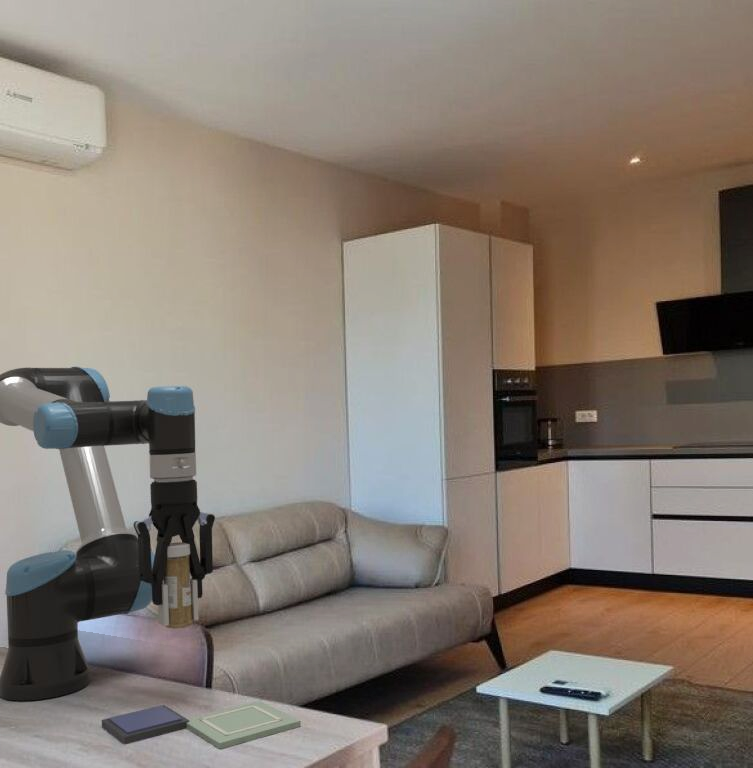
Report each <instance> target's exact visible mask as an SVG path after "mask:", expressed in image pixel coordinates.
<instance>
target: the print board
mask: <svg viewBox="0 0 753 768" xmlns="http://www.w3.org/2000/svg"><path fill="white" fill-rule="evenodd" d="M187 719H188V720H189V722H187V723H186V726H187V728H186V729H188V730H189V731H191V732H192V733H194V734H195V735H197V736H199V737H200V738H202V739H203V740H205V741H206V742H207V743H209V744H211V745H213V746H214V747H216V748H217V749H219V750H222V749H224V748H225V749H226V748H229V747H233V746H236V745H239V744H242V743H246V742H247V743H248V742H250V741H253V740H257V739H261V738H264V737H268V736H271V735H275V734H277V733H281V732H285V731H289V730H293V729H296V728H298V727H299V728H301V725H302V724H301V720H300V719H298V718H295V717H294V716H292V715H290V714H287V713H286V712H285V711H284V712H283V711H282V710H280V709H277V708H275V707H274V706H271V705H269V704H267V703H265V702H263V701H262V700H256V701H252V702H248V703H244V704H240V705H235V706H232V707H228V708H225V709H221V710H220V709H219V710H216V711H213V712H210V713H209V712H208V713H204V714H202V715H198V716H193V717H189V718H187Z"/></svg>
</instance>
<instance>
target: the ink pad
mask: <svg viewBox="0 0 753 768" xmlns="http://www.w3.org/2000/svg"><path fill="white" fill-rule="evenodd" d="M188 719H189V718H186V717H185V716H183V715H182V714H180V713H178V712H177V711H175V710H173V709H171V708H170V707H169V706H167V705H165V704H161V705H156V706H152V707H149V708H144V709H141V710H140V709H139V710H136V711H131V712H128V713H123V714H118V715H115V716H110V717H109V718H104V719H101V727H102V728H103V729H104V730H105V731H107V732H108V733H110V735H112V736H113V737H115V738H116V739H117V740H119V742H121V743H122V744H123V745H127V744H131V743H134V742H138V741H143V740H145V739H150V738H153V737H154V738H155V737H157V736H161V735H164V734H169V733H173V732H177V731H180V730H181V731H182V730H185V729H187V726H186V723H187V722H189V720H188Z"/></svg>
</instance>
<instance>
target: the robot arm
mask: <svg viewBox="0 0 753 768" xmlns="http://www.w3.org/2000/svg"><path fill="white" fill-rule="evenodd" d="M147 391H148V392H147V396H146V397H147V398H146V399H145V400H144V399H141V400H114V401H113V400H112V401H110V398H111V397H110V391H109V386H108V384H107V381H106V379H105V378H104V376H103V375H102V374H101V373H100V372H99V371H98V370H96V369H94V368H91V367H80V366H72V367H18V368H14V369H9V370H7V371H5V372H3V373H1V374H0V424H3V425H6V426H11V427H17V426H18V427H19V426H20V427H22V428H25V429H27V430H29V431H31V432H33V436H34V439H35V441H36V443H37V445H38V446H39V447H41V449H47V450H48V449H51V450H52V449H55V450H58V451H59V454H60V455H59V456H60V459H61V463H62V467H63V471H64V475H65V478H66V485H67V488H68V491H69V495H70V500H71V504H72V508H73V512H74V516H75V517H74V518H75V520H76V524H77V528H78V529H77V530H78V533H79V538H80V542H81V544H80V546H79V547H78V548H77V550H76V552H74V551H73V550H70V549H69V550H66V549H65V550H64V549H63V550H56V551H49V552H44V553H39V554H36V555H31V556H29V557H26V558H23V559H20V560H18V561H16V562H14V563H13V564H12V565H10V567H9V568H8V570H7V571H6V581H5V582H6V584H5V586H6V587H5V591H4V592H5V593H4V594H5V595H6V612H7V613H6V615H7V637H8V638H7V641H8V642H7V643H8V648H7V653H6V656H5V659H4V663H3V666H2V670H1V672H0V698H2V699H5V700H7V701H8V700H9V701H25V702H26V701H38V700H46V699H51V698H57V697H60V696H65V695H68V694H71V693H74V692H77V691H79V690H81V689H84V688H85V687H87V685H89V684H90V681H91V676H90V668H89V665H88V663H87V660H86V656H85V655H84V652H83V651H84V650H83V649H82V647H81V644H80V640H79V634H78V633H79V632H78V623H80V622H84V621H91V620H96V619H97V620H98V619H103V618H107V617H113V616H114V617H115V616H119V615H128V614H130V613H133V612H137V611H141V610H143V609H145V608H147V607H148V606H149V605H151V603H152V604H153V605H155V606H157V619H158V622H157V623H158V624H159V625H162V626H164V627H166V626H168V625H169V609H168V585H167V584H164V580H163V579H164V573H165V568H166V562H167V556H168V555H167V548H168V547H169V545H170V543H172V540H173V537H177V536H179V538H180V540H181V542H183V543H187V544H189V545H190V555H189V556H190V557H189V567H190V584H191V614H192V621H199V620H200V619H199V618H200V617H199V599H201V598H202V597H203V594H204V593H203V580H204V579H205V577H206V575H208V574H209V575H210V574H212V573H213V571H214V565H213V563H214V562H213V558H214V557H213V527H214V523H215V520H216V516H215V515H214V514H213V513H207V512H201V509H200V508H199V506H198V483H197V480H196V479H194V478H195V477H196V476H197V456H196V455H197V453H196V416H195V415H196V406H195V404H194V403H195V402H194V401H195V400H194V392H193V390H192V388H191V387H189V386H186V385H185V386H184V385H175V386H174V385H172V386H169V385H168V386H167V385H166V386H154V387H151V388H149V390H147ZM146 444H148V449H149V451H148V454H149V455H148V457H149V478H151V479H153V481H152V482H151V483H150V506H151V507H150V508H151V509H150V511H149V513H148V517H145V518H144V519H142V520H139V521H138V520H136V521H134V522H133V528H134V530H135V533H132V532H131V531H129V530H127V526H126V523H125V519H124V515H123V511H122V507H121V505H120V500H119V496H118V493H117V490H116V486H115V482H114V477H113V474H112V471H111V466H110V463H109V462H110V461H109V460H108V455H107V452H106V447H107V446H108V447H109V446H122V445H123V446H124V445H127V446H128V445H146ZM197 520H198V521H197ZM196 522H198V525H199V527H198V528H199V531H198V532H199V553H198V550H197V544H196V542H195V541H196V540H195V534H194V533H195V532H194V530H193V528H194V526H195V524H196ZM152 525H153V526H154V528H155V529H156V531H157V533H156V534H157V536H156V545H155V546H156V547H155V551H153V550H152V548H151V547H152V544H151V535H150V532H151V530H152ZM154 552H155V553H154Z"/></svg>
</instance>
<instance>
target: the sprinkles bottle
mask: <svg viewBox="0 0 753 768" xmlns="http://www.w3.org/2000/svg"><path fill="white" fill-rule="evenodd" d="M167 555H168V556H167V562H166V568H165V573H164V579H163V583H164V584H167V585H168V609H169V625H168V626H165V628H167V629H185V628H187V627H190V626H191V625H192V624H193V621H194V620H192V614H191V584H190V578H191V575H190V567H189V557H190V556H189V555H190V545H189V544H187V543H183V542H182V541H181V542H171V543H170V545H169V547H168V548H167Z"/></svg>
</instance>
